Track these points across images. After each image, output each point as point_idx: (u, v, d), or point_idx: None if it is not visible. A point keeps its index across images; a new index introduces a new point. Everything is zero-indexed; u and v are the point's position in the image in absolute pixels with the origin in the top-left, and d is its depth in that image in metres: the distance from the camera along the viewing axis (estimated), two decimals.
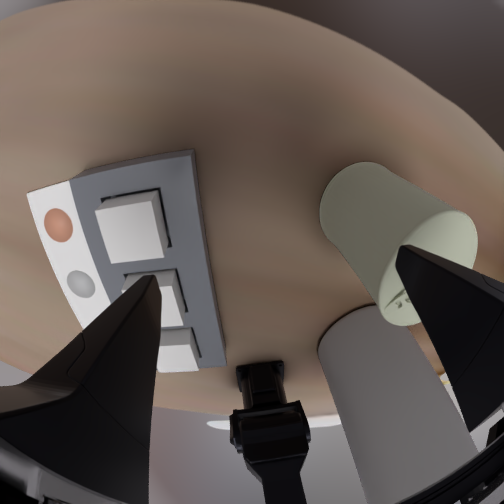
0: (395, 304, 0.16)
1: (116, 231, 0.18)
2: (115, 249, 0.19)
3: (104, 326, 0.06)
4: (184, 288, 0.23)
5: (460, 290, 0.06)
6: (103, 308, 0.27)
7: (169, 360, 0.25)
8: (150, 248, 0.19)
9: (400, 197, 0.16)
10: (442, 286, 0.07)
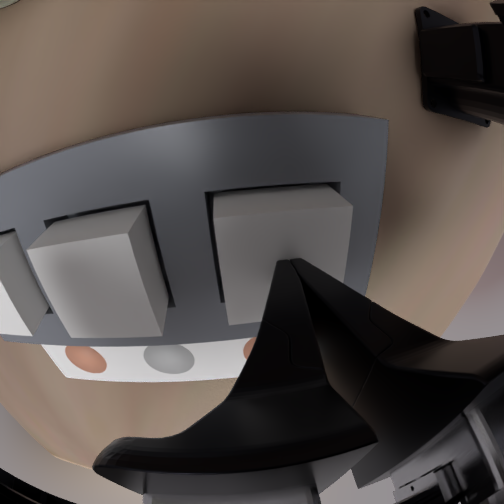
0: None
1: None
2: (11, 323, 0.09)
3: (289, 310, 0.06)
4: (81, 207, 0.09)
5: (335, 322, 0.06)
6: None
7: None
8: None
9: None
10: (317, 314, 0.07)
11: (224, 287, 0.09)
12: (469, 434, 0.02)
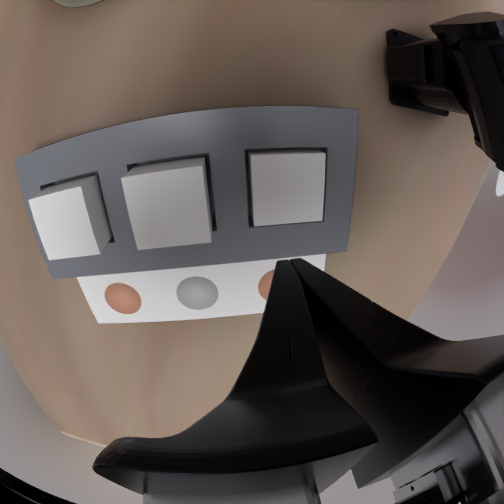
0: None
1: (62, 240, 0.14)
2: (81, 244, 0.14)
3: (289, 310, 0.06)
4: (160, 155, 0.14)
5: (335, 322, 0.06)
6: (236, 275, 0.23)
7: (292, 197, 0.16)
8: (71, 203, 0.13)
9: None
10: (317, 314, 0.07)
11: (253, 198, 0.16)
12: (469, 434, 0.02)
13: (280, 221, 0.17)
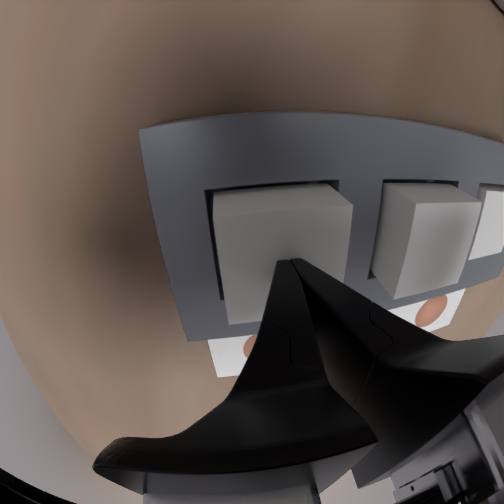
0: None
1: None
2: None
3: (289, 310, 0.06)
4: (421, 175, 0.10)
5: (335, 322, 0.06)
6: None
7: (495, 232, 0.12)
8: (325, 231, 0.09)
9: None
10: (317, 314, 0.07)
11: (477, 232, 0.12)
12: (469, 434, 0.02)
13: (482, 254, 0.12)
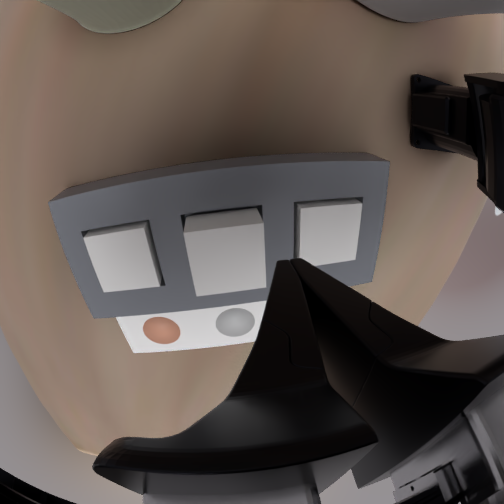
0: None
1: (120, 275, 0.17)
2: (141, 278, 0.17)
3: (289, 310, 0.06)
4: (215, 207, 0.16)
5: (335, 322, 0.06)
6: None
7: (333, 242, 0.18)
8: (133, 242, 0.16)
9: None
10: (317, 313, 0.07)
11: (300, 244, 0.18)
12: (469, 434, 0.02)
13: (321, 262, 0.19)
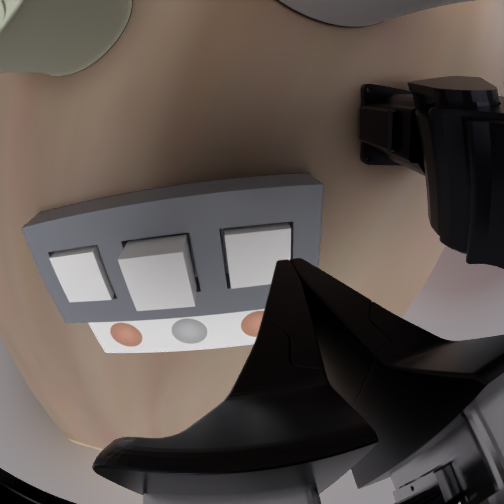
0: None
1: (80, 289, 0.19)
2: (96, 292, 0.19)
3: (289, 310, 0.06)
4: (148, 234, 0.18)
5: (335, 322, 0.06)
6: (222, 317, 0.26)
7: (262, 265, 0.19)
8: (86, 263, 0.18)
9: None
10: (317, 313, 0.07)
11: (229, 268, 0.19)
12: (469, 434, 0.02)
13: (253, 284, 0.20)
